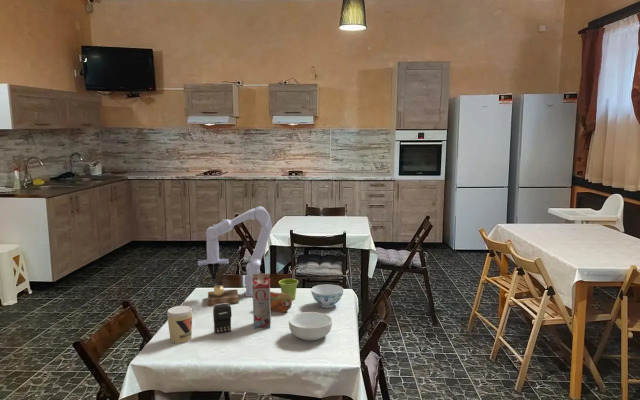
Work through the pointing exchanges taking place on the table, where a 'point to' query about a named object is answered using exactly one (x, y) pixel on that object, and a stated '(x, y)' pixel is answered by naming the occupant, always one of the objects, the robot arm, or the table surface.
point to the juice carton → (261, 301)
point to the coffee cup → (180, 324)
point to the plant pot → (289, 287)
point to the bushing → (218, 291)
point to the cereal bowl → (310, 325)
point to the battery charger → (222, 318)
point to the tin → (280, 302)
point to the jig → (223, 298)
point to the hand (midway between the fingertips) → (214, 278)
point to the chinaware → (327, 294)
